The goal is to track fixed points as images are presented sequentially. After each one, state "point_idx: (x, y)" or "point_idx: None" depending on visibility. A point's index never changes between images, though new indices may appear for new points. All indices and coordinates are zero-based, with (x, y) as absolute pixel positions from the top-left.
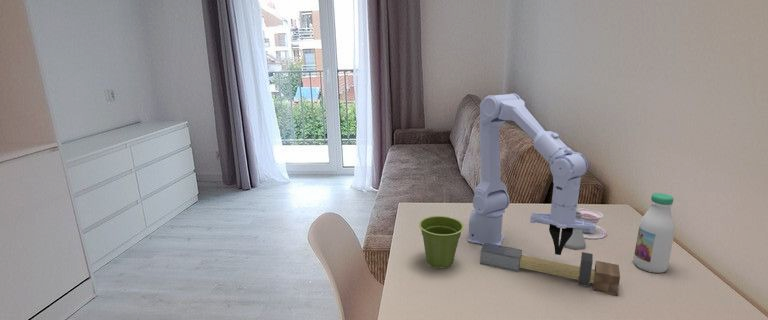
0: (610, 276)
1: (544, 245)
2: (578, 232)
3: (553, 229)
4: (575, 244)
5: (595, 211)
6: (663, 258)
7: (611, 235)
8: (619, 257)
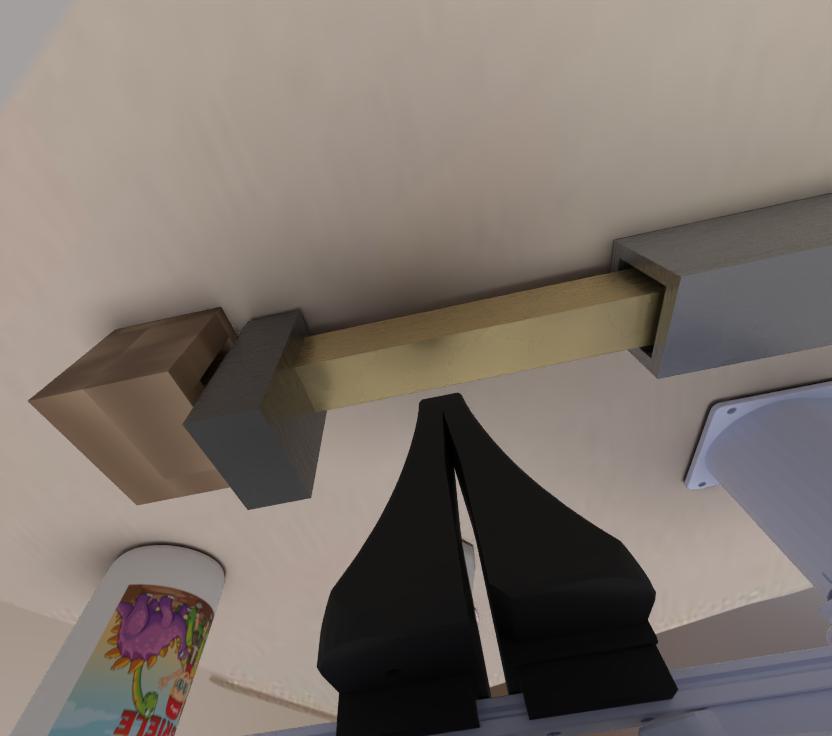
0: (87, 382)
1: None
2: None
3: (592, 616)
4: None
5: None
6: (77, 622)
7: None
8: (272, 565)
